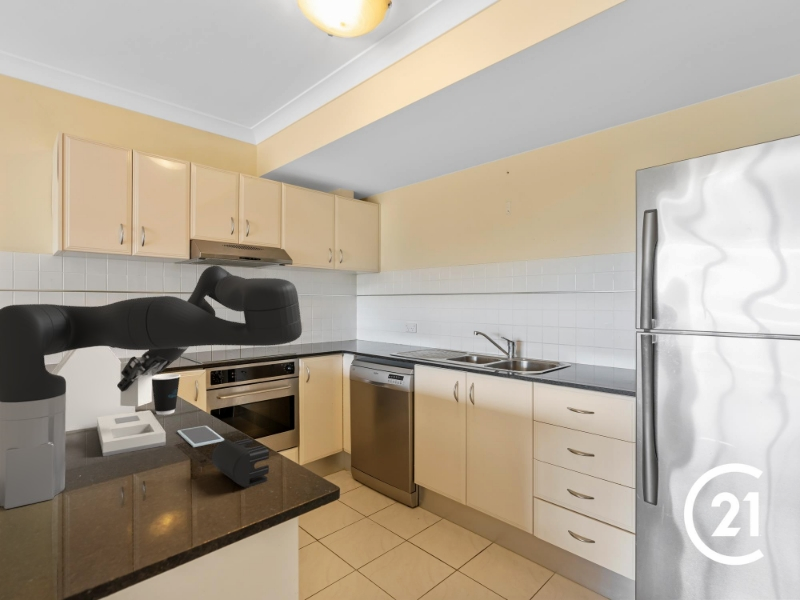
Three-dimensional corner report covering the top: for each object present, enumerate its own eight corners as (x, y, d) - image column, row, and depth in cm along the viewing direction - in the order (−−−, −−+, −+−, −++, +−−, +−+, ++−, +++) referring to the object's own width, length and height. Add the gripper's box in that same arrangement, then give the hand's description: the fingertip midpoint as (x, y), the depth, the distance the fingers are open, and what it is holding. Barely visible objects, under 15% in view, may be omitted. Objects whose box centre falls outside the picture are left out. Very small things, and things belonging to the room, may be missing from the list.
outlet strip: (165, 445, 99) (165, 431, 99) (103, 456, 91) (103, 442, 91) (149, 420, 118) (149, 409, 118) (96, 428, 110) (97, 416, 110)
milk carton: (45, 434, 105) (46, 335, 105) (45, 420, 117) (46, 330, 117) (135, 421, 118) (136, 331, 118) (127, 409, 129) (128, 328, 129)
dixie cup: (179, 414, 124) (179, 377, 124) (148, 417, 121) (148, 379, 121) (181, 408, 131) (181, 372, 131) (152, 410, 128) (152, 374, 128)
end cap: (211, 476, 82) (211, 442, 82) (246, 466, 87) (246, 434, 87) (232, 494, 75) (233, 456, 75) (269, 482, 80) (270, 446, 80)
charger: (152, 401, 102) (152, 360, 102) (138, 406, 98) (138, 363, 98) (134, 401, 103) (135, 360, 103) (120, 405, 98) (120, 362, 98)
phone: (224, 443, 102) (224, 438, 102) (193, 449, 98) (193, 444, 98) (206, 429, 113) (206, 425, 113) (177, 434, 108) (177, 430, 108)
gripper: (165, 351, 91) (115, 405, 93) (204, 344, 106) (159, 391, 107) (143, 326, 92) (93, 380, 94) (184, 323, 106) (140, 370, 108)
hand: (129, 386), depth 100 cm, fingers closed on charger, 4 cm apart
